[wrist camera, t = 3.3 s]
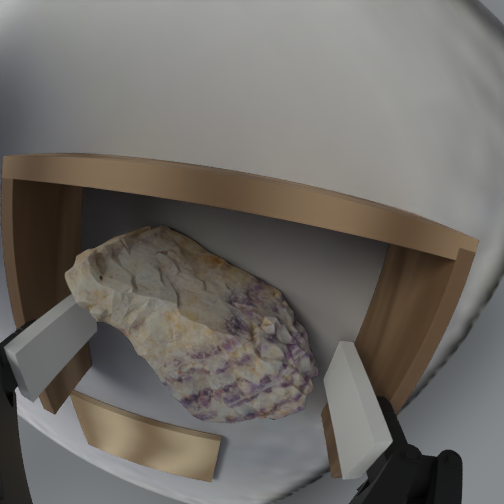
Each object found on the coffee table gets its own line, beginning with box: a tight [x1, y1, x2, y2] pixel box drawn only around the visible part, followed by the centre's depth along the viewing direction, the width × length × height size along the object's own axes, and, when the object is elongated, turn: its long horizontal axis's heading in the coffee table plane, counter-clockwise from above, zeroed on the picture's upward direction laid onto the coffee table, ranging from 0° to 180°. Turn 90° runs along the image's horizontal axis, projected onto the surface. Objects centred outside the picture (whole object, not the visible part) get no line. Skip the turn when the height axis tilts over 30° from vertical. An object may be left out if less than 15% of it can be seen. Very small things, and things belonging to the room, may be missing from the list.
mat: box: [70, 390, 222, 482], centre depth 21 cm, size 14×9×1 cm, turn 79°
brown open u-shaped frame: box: [1, 153, 479, 478], centre depth 13 cm, size 20×16×6 cm
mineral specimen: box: [65, 225, 318, 423], centre depth 13 cm, size 13×7×6 cm, turn 59°
